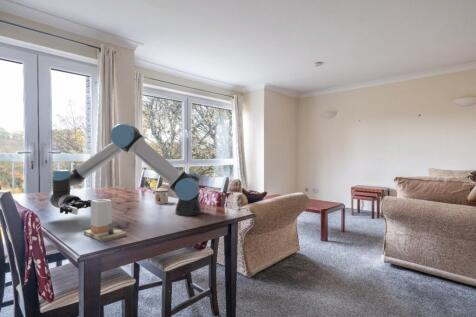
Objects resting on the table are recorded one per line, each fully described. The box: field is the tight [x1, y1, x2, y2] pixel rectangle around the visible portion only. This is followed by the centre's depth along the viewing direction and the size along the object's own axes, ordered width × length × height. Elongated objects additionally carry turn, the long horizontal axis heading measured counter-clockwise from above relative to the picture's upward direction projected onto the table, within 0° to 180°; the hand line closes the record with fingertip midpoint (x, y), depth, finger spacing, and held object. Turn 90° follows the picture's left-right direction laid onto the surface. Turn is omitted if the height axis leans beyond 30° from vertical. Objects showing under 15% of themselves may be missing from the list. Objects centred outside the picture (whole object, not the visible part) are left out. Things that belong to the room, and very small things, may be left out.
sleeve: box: [90, 198, 113, 233], centre depth 119 cm, size 6×6×13 cm
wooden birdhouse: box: [154, 185, 169, 205], centre depth 188 cm, size 12×9×12 cm
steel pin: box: [108, 222, 114, 234], centre depth 114 cm, size 2×2×4 cm
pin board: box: [83, 227, 127, 243], centre depth 117 cm, size 16×10×2 cm, turn 55°
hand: (92, 208), depth 122 cm, fingers open, 13 cm apart
